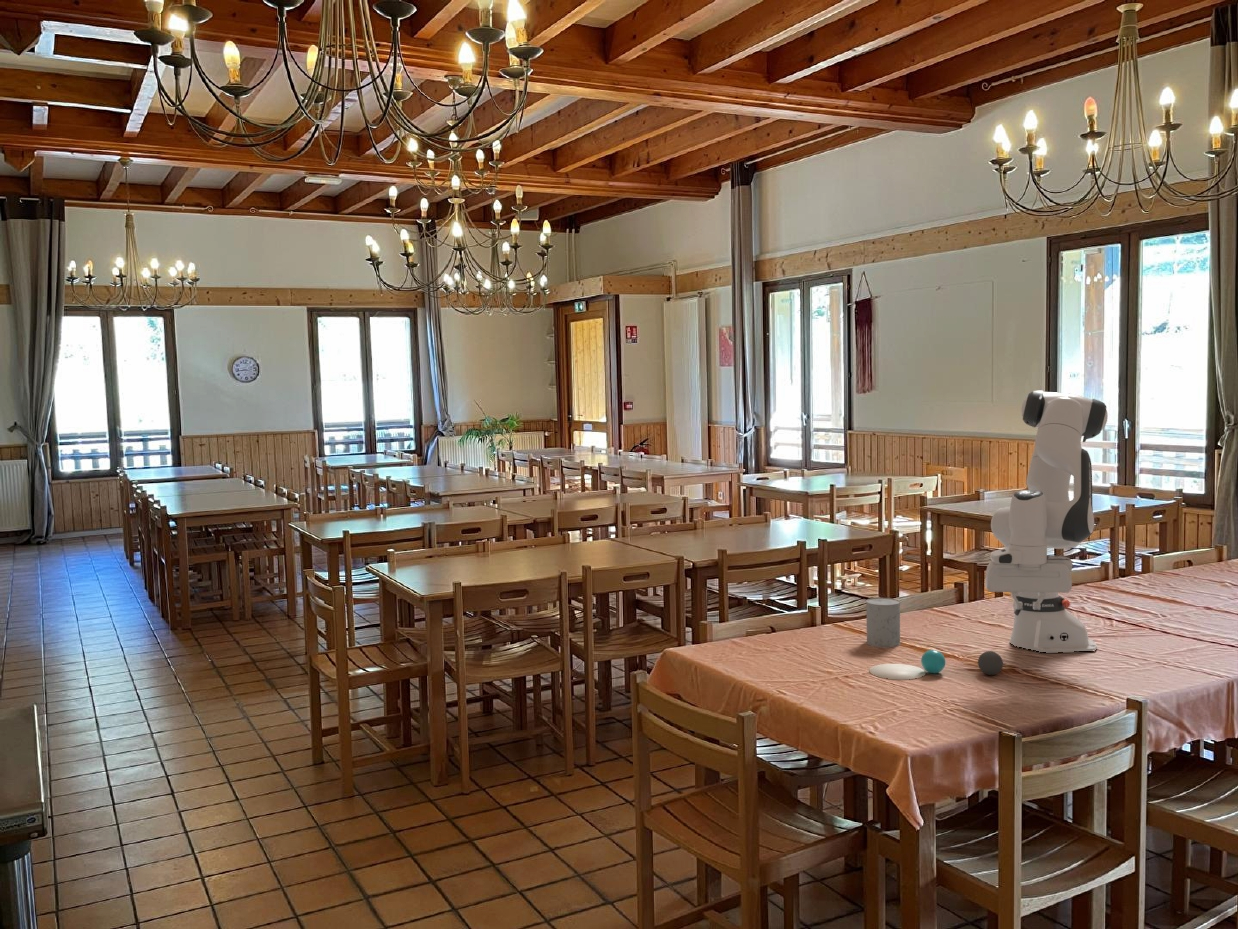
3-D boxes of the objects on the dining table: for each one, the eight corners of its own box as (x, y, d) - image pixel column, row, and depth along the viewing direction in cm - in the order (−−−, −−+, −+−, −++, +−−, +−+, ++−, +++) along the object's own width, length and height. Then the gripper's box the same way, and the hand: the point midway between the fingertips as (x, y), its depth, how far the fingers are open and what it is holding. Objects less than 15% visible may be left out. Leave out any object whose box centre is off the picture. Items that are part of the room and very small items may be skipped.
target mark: (922, 665, 266) (922, 664, 266) (927, 680, 252) (927, 679, 252) (868, 663, 269) (868, 663, 269) (870, 679, 255) (870, 678, 255)
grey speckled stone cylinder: (901, 640, 292) (901, 598, 291) (899, 648, 283) (899, 605, 282) (867, 638, 295) (867, 597, 294) (864, 646, 286) (864, 604, 285)
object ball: (944, 670, 261) (944, 647, 260) (946, 676, 255) (946, 653, 255) (920, 669, 262) (920, 646, 262) (922, 676, 256) (922, 653, 256)
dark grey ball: (1000, 671, 258) (1000, 648, 258) (1004, 678, 252) (1004, 655, 252) (976, 671, 259) (976, 648, 259) (979, 677, 253) (979, 654, 253)
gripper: (1069, 553, 252) (1069, 607, 253) (983, 552, 257) (984, 605, 258) (1075, 557, 246) (1074, 612, 247) (987, 557, 250) (987, 611, 252)
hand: (1027, 609), depth 253 cm, fingers open, 3 cm apart
